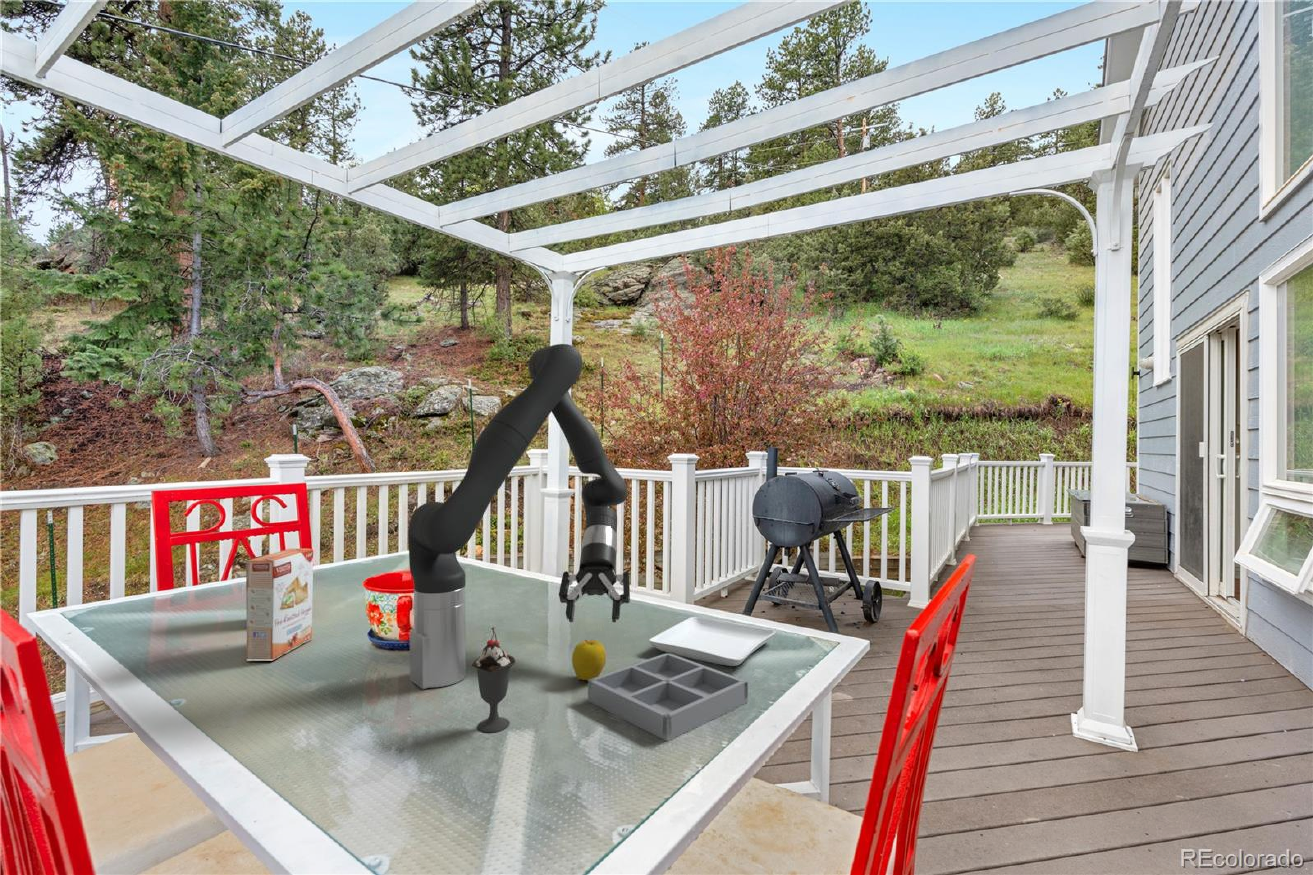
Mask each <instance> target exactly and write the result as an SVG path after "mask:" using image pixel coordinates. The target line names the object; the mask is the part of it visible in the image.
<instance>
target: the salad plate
mask: <svg viewBox="0 0 1313 875" xmlns="http://www.w3.org/2000/svg"><path fill="white" fill-rule="evenodd" d="M775 634H776V631H775V630H772V629H769V628H762V627H758V626H752V625H747V624H741V623H738V622H737V623H736V622H731V621H726V620H725V621H724V620H719V619H713V618H708V617H707V618H706V617H699V616H691V617H689V618H687V619H684V620H683V621H681V622H679V623H677V624H675V625H673V626H672V627H669V628H668V629H665V630H663V631H661V632H660V633H657V635H655V636H653V637H651V638H649V639H648V641H649V643H650V645H652V646H653V647H654V648H656V649H658V650H659V651H662V652H665V653H671V654H673V655H676V656H679V657H682V658H685V659H687V658H688V659H692V660H697V661H701V662H706V663H710V664H711V663H712V664H716V665H722V666H726V667H737V666H739V665H741V664H742V663H743V662H744V661H745V660H746V659H747V658H748V657H749V656H751V654H753V653H754V652H755V651H756V650H757V649H759V648H760V647H762V646H763V645H765V644H767V643H768V642H769V641H770V640H771V639H772V638H773V637H774V636H775Z"/></svg>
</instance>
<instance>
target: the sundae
mask: <svg viewBox="0 0 1313 875" xmlns="http://www.w3.org/2000/svg"><path fill="white" fill-rule="evenodd" d="M491 630H492V637H491V639H489V640H487V642H486V646H484V648H483V649H481V653H480V656H478V657H477V658H476V659H475V660H474V661H472V664H471V667H473V668H475V670H476V674H477V680H478V689H479V694H480V698H481V699H482V700H483V701H484V702H485V703H487V704H488V705H489V715H488V718H485V719H484V720H482V721H480V722H479V723H478V724H477V729H478V730H479V731H481V732H482V733H488V734H489V733H490V734H491V733H492V734H493V733H498V732H502V731H504V730H505V729H507V728H509V726H510V724H511V722H510V721H509V718H505V717H501V716H499V712H498V708H499V707H498V706H499V703H500V702H502V700H504V699H505V697H506V696H507V693H508V692H507V691H508V687H509V680H510V673H511V667H512V666H513V665H515V664H516V659H515V657H514V656H513V655H510V654H507V653H506V651H505V650H504V649H503V648H502V647H501V646H500V642H499V641H497V640H498V639H497V638H498V637H497V634H496V631H495V627H494V626H493V627H491ZM494 637H495V640H493V639H494Z"/></svg>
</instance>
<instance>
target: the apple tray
mask: <svg viewBox="0 0 1313 875" xmlns="http://www.w3.org/2000/svg"><path fill="white" fill-rule="evenodd" d="M748 683H749V681H747V680H746V679H743V678H739V677H736V676H734V675H731V674H728V673H725V672H724V671H720V670H718V669H715V668H712V667H709V666H706V665H703V664H700V663H698V662H695V661H693V660H690V659H687V658H685V657H682V656H677V655H673V654H671V653H668V652H665V653H663V654H660V655H657V656H654V657H651V658H648V659H646V660H642V661H639V662H637V663H634V664H631V665H628V666H625V667H622V668H619V669H616V670H613V671H610V672H608V673H607V672H606V673H604V674H602V675H601V674H600V675H599V676H598V677H596V678H593V679H590V680H587V701H588V702H589V703H592V704H593V705H595V706H597V707H600V708H601V709H603V710H605V711H606V712H609V713H611V714H613V715H615V716H617V717H619V718H620V719H623V720H625V722H626V721H627V722H629V723H630V724H633V725H634V726H636V727H638V728H640V729H642V730H644V731H646V732H648V733H650V734H652V735H654V736H656V737H658V738H660V739H662V740H664V741H665V742H669V741H671V740H673V739H675V738H678V737H680V736H681V735H683V734H685V733H688V732H689V731H691V730H694V729H696V728H698V727H700V726H702V725H704V724H705V723H708V722H710V721H712V720H714V719H716V718H719V717H720V716H723V715H724V714H726V713H729V712H731V711H733V710H735V709H737V708H739V707H741V706H743V705H745V704H748V702H749V701H748V700H749V693H748V692H749V691H748Z"/></svg>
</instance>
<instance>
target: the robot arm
mask: <svg viewBox="0 0 1313 875" xmlns="http://www.w3.org/2000/svg"><path fill="white" fill-rule="evenodd" d="M583 365H584V364H583V357H582V354H581V352H580V351H579V349H577V348H576V346H574V345H572V344H567V343H558V344H553V345H549V346H546V347H543V348H539V349H536V350H535V351H534V352H533V353H532V354H531V355H530V357H529V359H528V371H529V374H530V377H531V382H530V384H528V385H527V387H526V388H524V390H523V391H521V392H520V393H519V394H518V395H517V396H515V397H514V398H513V399H512V400H510V401H509V402H508V403H507V404H505V405H504V406H503V407H502V408H501V409H500V410H499V411H498V412H497V413H496V414H495V415H494V416H493V417H492V418H491V419H490V421H489V422H488V424H487V425H486V426H485V428H484V429H483V430H482V432H481V433H480V435H478V437H477V438H476V440H475V443H474V444H473V448H472V451H471V456H470V459H469V462H468V466H467V470H466V472H465V475H464V476H463V478H462V480H461V481H460V482H459V484H458V486H457V487H456V488H455V489H454V491H453V492H452V493H451V495H450V496H449V497H448V498H447V499H446V500H445V501H444V502H440V501H430V502H425V503H423V504H421V505H420V506H419V507H417V508H416V509H415V511H414V512H413V513H412V515H411V517H410V520H409V525H408V533H407V534H408V537H407V538H408V561H409V564H408V565H409V571H410V575H411V578H412V580H413V628H411V629H410V630H409V681H411V682H412V683H414V684H415V685H416V686H418V687H419V688H420V689H422V690H425V689H428V688H429V689H430V688H440V687H446V686H451V685H454V684H456V683H459V682H461V681H462V680H463V679H464V678H465V677H466V675H467V674H466V668H467V667H466V666H467V663H466V662H467V661H466V659H467V658H466V650H467V648H466V573H465V570H464V569H463V567H462V566H461V565H460V563H459V560H458V558H457V552H458V551H460V550H462V549H463V548H464V547H466V545H467V544H468V543H469V541H470V540H471V538H472V537H473V535H474V533H475V532H476V530H477V529H478V528H477V527H478V526H479V524H480V522H481V520H482V518H483V516H484V514H485V513H486V510H487V509H488V507H489V505H490V504H491V502H492V501H493V499H494V497H495V495H496V493H497V492H498V491H499V490H500V489H501V487H502V485H503V484H504V482H505V481H506V479H507V477H508V476H509V475H510V473H511V471H512V470H513V469H514V467H515V466H516V465H517V464H518V462H519V461H520V459H521V458H522V457H523V455H524V453H526V450H528V448H529V446H531V445H530V444H531V443H532V441H533V439H534V438H535V437H536V435H537V434H538V432H539V431H540V429H541V428H542V426H543V425H544V423H545V422H546V420H547V419H548V417H549V415H551V413H552V415H553V417H554V418H555V420H556V422H557V423H558V426H559V427H560V429H561V431H562V433H563V435H564V437H565V440H566V442H567V444H568V447H569V449H570V452H571V453H572V456H573V459H574V461H575V464H576V466H577V468H578V470H579V472H581V473H582V474H584V475H585V474H586V475H588V474H590V475H592V474H593V475H597V476H599V477H600V478H596V479H592V480H588V481H587V482H586V483H585V484H584V485H583V487H582V489H581V498H582V502H583V505H584V511H585V512H584V513H585V526H584V527H585V529H584V534H583V537H582V543H581V551H580V560H579V568H578V572H577V573H576V574H571V573H570V572H568V571H564V572H563V573H562V578H561V580H560V586H559V592H558V597H559V601H560V603H561V604H566V609H565V617H566V619H567V620H568V621H569V623H574V618H575V609H576V603H577V602H578V601H579V600H582V599H583V598H584V596H586V595H587V596H604V595H605V594H606V596H607V597H608V598H609V600H610V601H612V607H611V608H612V609H611V611H612V612H611V621H612V623H617V620H618V621H619V619H620V617H621V605H623V604H629V603H630V602H631V598H630V597H631V590H630V588H631V587H630V585H631V584H630V573H629V571H624V572H623V573H622V574H621V573H619V574H617V573H616V563H617V562H616V561H617V552H618V548H617V546H618V545H617V544H618V543H617V542H618V540H617V533H618V532H617V530H618V516H617V512H616V511H615V510H614V509H612V508H610V507H613V506H618V505H621V504H623V503H624V502H625V501H626V500H627V496H628V487H627V483H626V481H625V480H624V479H623V477H622V476H621V474H620V473H619V472H618V471H617V469H616V468H615V466H614V465H613V463H611V461H610V459H609V458H608V456H607V454H606V451H605V450H604V446H603V445H602V441H601V438H600V437H599V434H598V432H597V431H596V429H595V428H594V426H593V424H592V423H591V422H590V420H588V418H587V417H586V416H585V415H584V413H583V412H582V411H581V410H580V408H578V406H577V404H576V403H575V402H574V400H573V398H572V396H571V394H570V392H569V390H570V389H571V388H572V387H573V386H574V385H575V383H576V382H578V379H580V376H581V373H582V370H583ZM575 582H576V583H577V585H576V586H574V587H573V590H572V591H571V592H570V593H569V587H570V586H572V585H573V584H574V583H575ZM617 582H619V585H620V586H622V588H623V589H622V592H623V593H622V594H619V593H618V592H617V590H616V588H615V586H614V585H615V584H616V583H617ZM568 593H569V594H568Z"/></svg>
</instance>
